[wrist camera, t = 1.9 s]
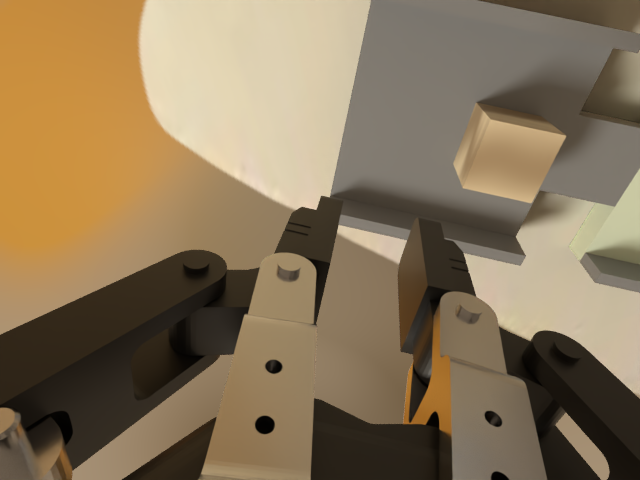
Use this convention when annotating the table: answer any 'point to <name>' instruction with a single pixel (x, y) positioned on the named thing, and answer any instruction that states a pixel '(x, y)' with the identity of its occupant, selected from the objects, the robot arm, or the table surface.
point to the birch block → (506, 152)
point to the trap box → (453, 117)
